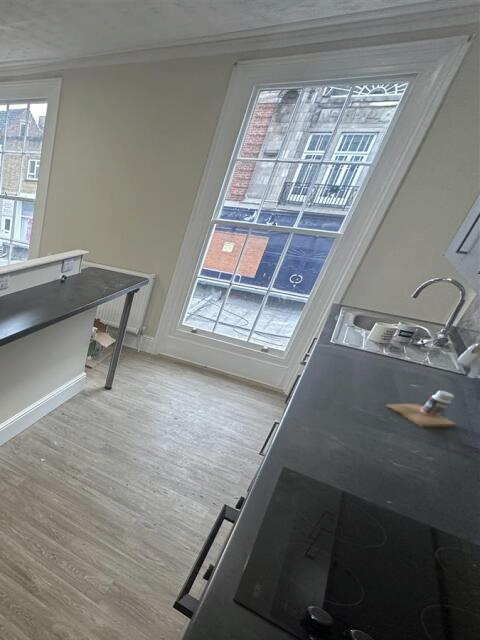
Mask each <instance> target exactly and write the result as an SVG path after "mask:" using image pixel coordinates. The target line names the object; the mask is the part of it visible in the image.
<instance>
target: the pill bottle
mask: <svg viewBox="0 0 480 640" xmlns="http://www.w3.org/2000/svg"><path fill="white" fill-rule="evenodd" d="M454 398H455V395H454V394H452V393H450V392H448V391H445V390H438V391H437V392H436V393H435V394H433V395H432V396H430V398H429V399H428V400H427V401H426V402H425V404H424V405H422V406H423V408H422V409H421V411H422V412H423V413H425V414H427V415H430V416H434V417H438V416H440V415H441V414H442V413H443V412H444V411H445V410H446V409H447V408H448V407H449V406H450V404H451V403H452V401H451V400H453V399H454Z"/></svg>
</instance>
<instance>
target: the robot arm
mask: <svg viewBox="0 0 480 640" xmlns="http://www.w3.org/2000/svg"><path fill="white" fill-rule="evenodd" d="M456 364H458V365H460V366H462V367H464V368H467V369H470V371H469V373H468V374H467V377H468V378H469V379H480V342H477V343H473V344H472V345H471V346H469V347H468V348H467V349H466V350H465V351H464V352H462V354H461V355H460V356H459V357H458V358H457V360H456Z"/></svg>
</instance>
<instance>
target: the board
mask: <svg viewBox="0 0 480 640" xmlns="http://www.w3.org/2000/svg"><path fill="white" fill-rule="evenodd" d="M386 406H387V407H386V408H387V409H389V408H391V409H393V410H394V411H393V410H392V411H393V412H394V413H396V412H398V413H400V414H401V415H400V414H399V415H400V416H401V417H403V418H405V417H406V418H405V419H407V418H408V419H407V420H408V421H409V422H410V421H411V422H412V421H413V422H412V423H414V424H416V425H417V426H419V427H421V428H431V427H433V428H435V427H454V426H455V425H457V423H456V422H454V421H452V420H450V419H448V418H446V417H445V416H443V415H441V414H440V416H438V417H434V416H430V415H427V414H425V413H423V412H422V411H421V409H422V408H423V406H424V405H422V404H420V403H394V404H393V403H392V404H386ZM388 407H389V408H388ZM391 409H390V410H391ZM395 411H396V412H395ZM398 413H397V414H398ZM402 415H403V416H402Z"/></svg>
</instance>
